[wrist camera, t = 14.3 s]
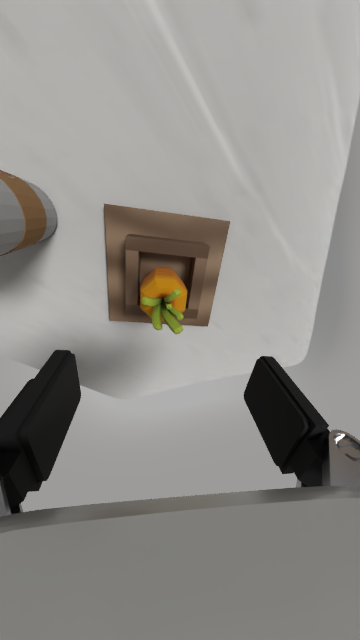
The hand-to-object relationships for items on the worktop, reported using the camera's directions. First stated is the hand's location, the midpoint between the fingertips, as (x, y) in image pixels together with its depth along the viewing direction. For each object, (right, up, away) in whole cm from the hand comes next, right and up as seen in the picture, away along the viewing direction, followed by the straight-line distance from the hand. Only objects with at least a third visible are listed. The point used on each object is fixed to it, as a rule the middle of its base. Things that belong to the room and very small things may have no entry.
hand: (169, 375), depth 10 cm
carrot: (-2, +10, +18) cm, 21 cm away
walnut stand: (-2, +10, +19) cm, 22 cm away
